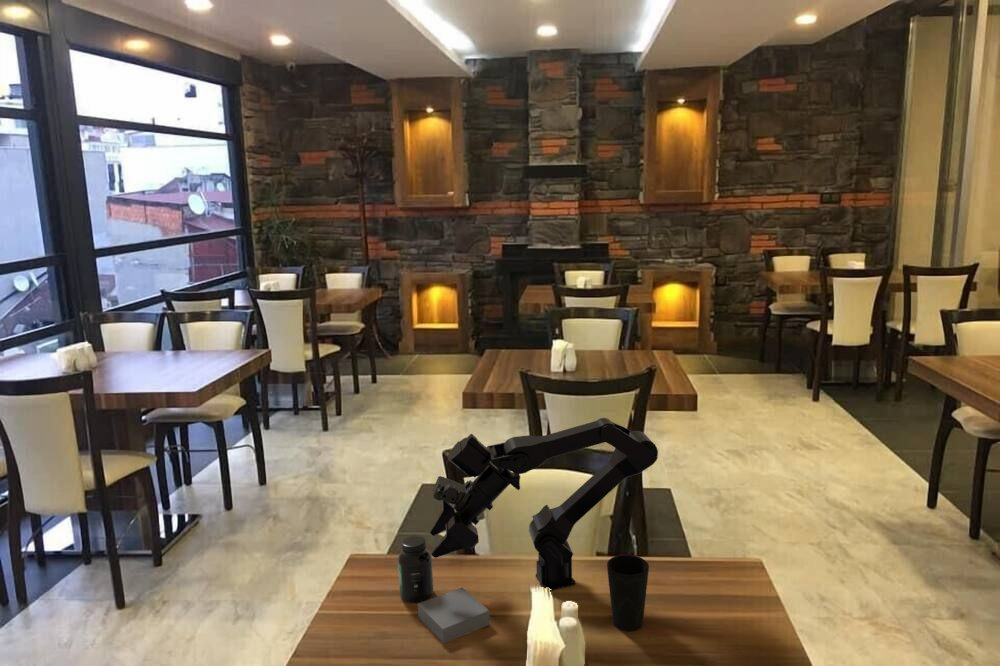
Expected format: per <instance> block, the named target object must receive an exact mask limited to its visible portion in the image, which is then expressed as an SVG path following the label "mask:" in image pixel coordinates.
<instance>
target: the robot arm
mask: <svg viewBox="0 0 1000 666" xmlns="http://www.w3.org/2000/svg"><path fill="white" fill-rule="evenodd" d="M603 443H606V444H609V445H610V446H612V447H613V448H614V450H613V453H612V455H611V457H610V458H609V460H608V461H607V462H606V463H605V464H604V465H603V466H601V468H600V469H598V471H596V472H595V473H594V474H593V475H592V476H591V477H590V478H588V479H587V480H586V481H585V482H584V483H583V484H582V485H581V486H580V487H579V488H578V489H577V490H576V491H574V492H573V493H572V494H571V495H570V496H569V497H568V498H566V500H564V501H563V503H561V504H560V505H559V506H555V507H553V508H550V506H549V505H548V504H545V505H544V506H543V507H542V508H541V509H540V510H539V512H537V513H536V514H533V515H532V516H531V517H532V520H531V521H530V523H529V528H528V533H529V536H530V537H531V540H532V543H533V546H534V549H535V550H536V552H537V553H538V555H537V556H538V560H536V563H535V564H536V574H535V577H536V579H537V581H538V582H539V583H540V585H542V586H543V587H544V586H545V587H549V588H550V589H552V590H551V591H554V590H558V589H562V588H565V587H566V588H567V587H570V586H573V585H574V586H575V585H576V580H575V579H574V578H573V560H572V559H573V555H574V554H573V553H574V552H573V550H572V549H571V546H570V544H569V541H568V539H569V537H570V534H571V533H572V530H573V529H574V526H575V525H576V524H577V523H578V522H579V521H580V520H581V519H582V518H583V517H584V516H585V515H586V514H588V513H589V512H590V511H591V510H592V509H594V507H595V506H597V505H598V503H600V502H601V501H602V500H603V499H604V498H605V497H607V495H609V493H611V492H612V491H613V490H615V488H616V487H618V485H619V484H621V483H622V482H623V481H624V480H625V479H627V478H629V477H633V476H636V475H639V474H641V473H643V472H644V471H646V470H648V469H649V468H650V467H651V466H653V465H654V464H655V463H656V462H657V460H658V459H659V457H658V456H659V450H658V447H657V446H656V444H655V443H654V442H653V441H652V440H651V439H650V437H648V436H647V434H646V433H644V432H643V431H640V430H630V429H628V428H626V427H625V426H623V425H620V424H618V423H616V422H613V421H612V420H610V419H609V418H607V417H601V418H598V419H596V420H594V421H590V422H588V423H585V424H581V425H580V424H579V425H577V426H573V427H570V428H566V429H563V430H559V431H557V432H553V433H549V434H546V435H545V434H544V435H528V434H527V435H519V436H512V437H510V438H508V439H506V440H505V442H501V443H495V444H491V445H490V444H489V445H487V446H485V445H484V444H483V443H482V442H481V441H480V440H479V439H478V437H476V436H475V435H474V434H473V433H470V434H469V435H468V436H467V437H464V438H462V439H461V440H460V441H459V440H458V441H457V442H456V443H455V444H454V445H453V447H452V448H451V450H450V451H449V453H448V454H447V460H448V461H450V462H451V464H453V465H454V466H456V467H457V468H458V469H459V470H460V471H462V473H464V474H465V475H466V476H468V477H469V478H471V477H473V478H474V480H473V481H472V480H470V479H469V480H467V481H466V482H465V483H463V484H462V483H459V482H458V481H455V480H454V479H450V478H447V477H445V476H440V475H439V476H437V479H436V481H435V483H434V486H433V489H432V490H431V491H432V497H433V498H434V499H435V500H437V501H439V502H440V501H442V509H441V511H440V513H439V514H438V517H437V518H436V521H434V524H433V526H432V528H431V530H430V531H429V534H430V535H431V536H433V537H435V536H437V535H439V534H440V533H442V532H444V531H445V534H444V535H443V537H442V538H441V540H439V543H438V544H437V545H436V547H435V548H434V549H433V550H432V553H431V556H432V557H433V558H434V559H437V558H439V557H442V556H445V555H447V554H450V553H453V552H456V551H460V550H463V549H467V550H468V549H469V550H473V549H474V548H475V547H476V546H477V544H479V543H480V542H479V534H478V528H477V527H476V526H477V525H478V523H480V520H479V517H481V515H482V514H483V513H484V512H485V511H486V510H488V511H491V510H492V509H493V508H494V506H493V503H494V502H495V500H497V499H498V498H499V497H500V496H501V494H503V492H504V491H505V490H506V489H507V488H508V487H509V486H510V485H511V486H513V487H514V488H515V489H516V490H517V491H520V489H521V484H520V482H521V475H523V474H526V473H528V472H530V471H532V470H534V469H536V468H538V467H540V466H542V464H544V463H545V462H546V461H548V460H551V459H552V458H555V457H559V456H562V455H565V454H568V453H572V452H576V451H580V450H583V449H586V448H590V447H593V446H596V445H600V444H603ZM545 587H544V588H545Z"/></svg>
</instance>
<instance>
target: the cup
mask: <svg viewBox="0 0 1000 666" xmlns="http://www.w3.org/2000/svg"><path fill="white" fill-rule="evenodd" d="M606 567H607V576H608V579H607V580H608V587H609V596H610V597H609V599H610V607H611V608H610V609H611V615H612V616H611V618H612V623H613V626H614V627H615V628H616V629H618V630H620V631H622V632H636V631H639V630H640V629H641V628H642V627H643V624H644V616H645V615H644V614H645V607H646V597H647V588H648V587H647V586H648V579H649V570H650V566H649V562H647V561H646V559H644V558H643V557H641V556H637V555H633V554H619V555H615V556H613V557H611V558H609V559H608V561H607V562H606Z"/></svg>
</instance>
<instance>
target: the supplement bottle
mask: <svg viewBox="0 0 1000 666" xmlns="http://www.w3.org/2000/svg"><path fill="white" fill-rule="evenodd" d="M426 540H427V539H426V538H425V537H423V535H422V536H421V535H410V536H407V537H405V538H403V539H402V540H401V552H400V553H399V554H398V558H397V568H398V581H399V582H398V583H399V596H400V598H401V599H402V600H403V601H404V602H407V603H410V604H419V603H422V602H425V601H427V600H430V599H432V598H431V597H432V596H433V595H434V576H433V575H434V574H433V559H432V557H433V556H432V553H431V551H430V550H428V549H427V543H426V542H427V541H426Z"/></svg>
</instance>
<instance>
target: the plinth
mask: <svg viewBox="0 0 1000 666" xmlns="http://www.w3.org/2000/svg"><path fill="white" fill-rule="evenodd" d="M417 617H418V619H419V620H420V621H421V623H423V624H424V625H425V627H426V628H427V629H428V630H430V632H431V633H432V634H434V636H435V637H436V638H437V639H438V640H439V641H440V642H441V643H442V644H443V645H444V644H446V642H447V643H449V642H452V641H454V640H456V639H458V638H461V637H464V636H466V635H468V634H471V633H473V632H475V630H476V631H478V630H480V629H483V628H485V627H488V626H490V624H491V623H490V610H489V609H488V608H487V607H485V605H484V604H483V603H481V602H480V601H479V600H478V599H477V598H475V597H474V596H473V595H472V594H471V593H470V592H469V591H468V590H466V589H465V588H464V587H459V588H457V589H454V590H451V591H449V592H446V593H443V594H441V595H439V596H436V597H435V596H434V597H433V598H429V599H428V600H426V601H424V602H421V603H417Z"/></svg>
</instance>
